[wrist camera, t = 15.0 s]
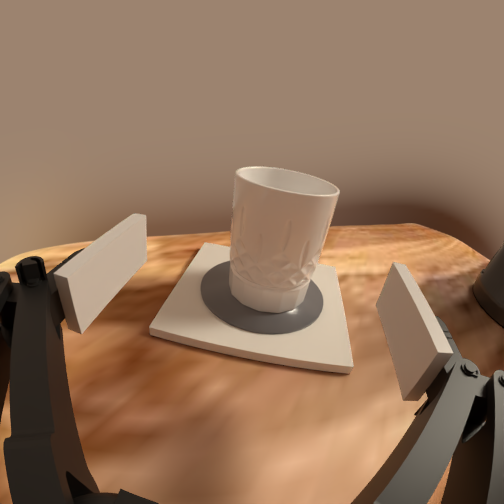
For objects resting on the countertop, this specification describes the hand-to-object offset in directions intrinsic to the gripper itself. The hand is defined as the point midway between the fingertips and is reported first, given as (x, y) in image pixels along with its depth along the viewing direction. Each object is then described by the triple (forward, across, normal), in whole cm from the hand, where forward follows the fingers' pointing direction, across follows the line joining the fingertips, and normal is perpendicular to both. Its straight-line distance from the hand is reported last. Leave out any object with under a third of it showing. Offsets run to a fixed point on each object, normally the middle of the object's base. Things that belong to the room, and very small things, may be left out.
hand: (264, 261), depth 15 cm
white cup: (+9, 0, -8) cm, 12 cm away
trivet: (+9, 0, -9) cm, 12 cm away
